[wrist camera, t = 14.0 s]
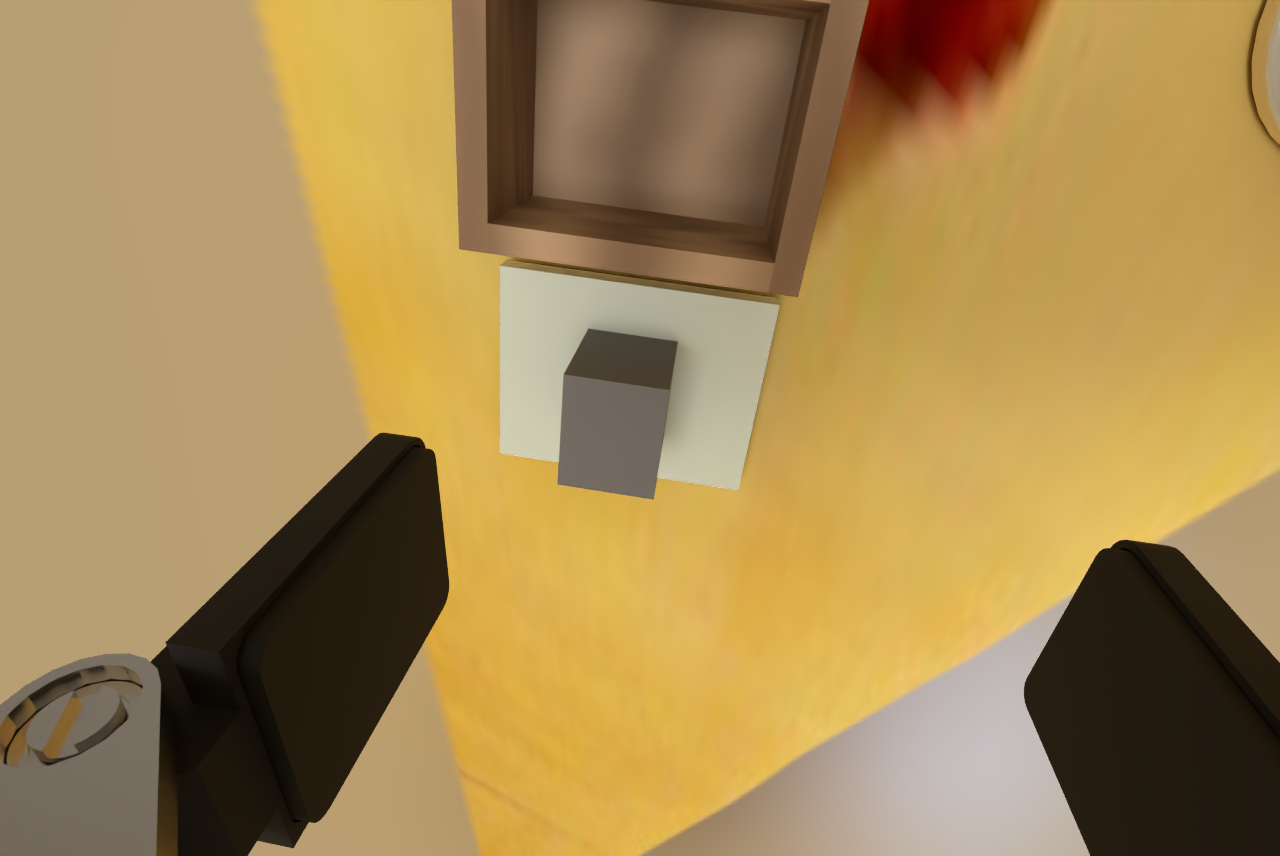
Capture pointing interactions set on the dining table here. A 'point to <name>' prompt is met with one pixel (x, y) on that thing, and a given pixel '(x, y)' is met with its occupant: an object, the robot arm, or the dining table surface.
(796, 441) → the dining table surface
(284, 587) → the robot arm
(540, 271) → the lid
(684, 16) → the wooden box
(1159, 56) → the dining table surface
